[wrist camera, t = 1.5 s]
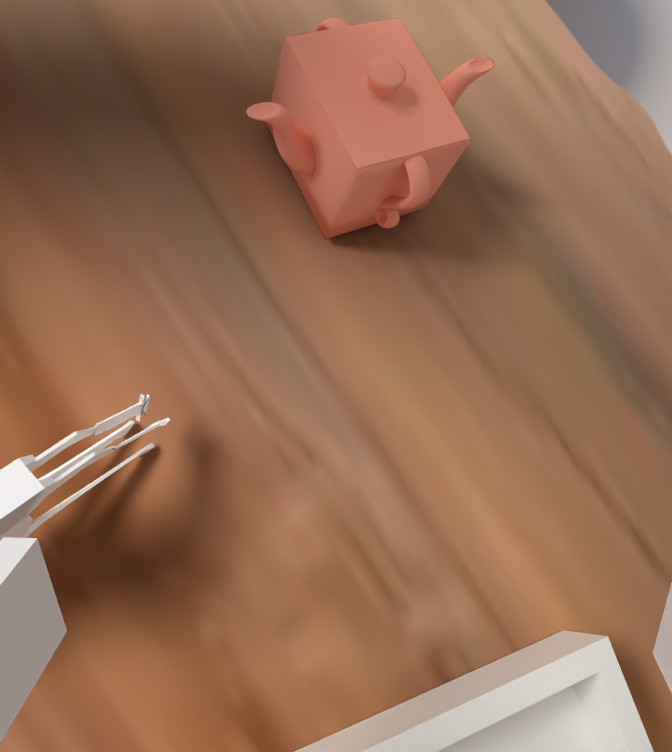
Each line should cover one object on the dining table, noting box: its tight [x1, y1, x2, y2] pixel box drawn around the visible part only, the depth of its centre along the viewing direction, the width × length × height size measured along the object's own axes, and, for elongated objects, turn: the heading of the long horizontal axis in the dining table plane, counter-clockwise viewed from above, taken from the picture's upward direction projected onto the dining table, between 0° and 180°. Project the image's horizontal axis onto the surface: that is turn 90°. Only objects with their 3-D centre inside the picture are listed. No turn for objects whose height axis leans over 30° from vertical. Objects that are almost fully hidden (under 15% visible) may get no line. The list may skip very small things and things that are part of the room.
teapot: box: [247, 18, 494, 239], centre depth 33 cm, size 12×15×8 cm
